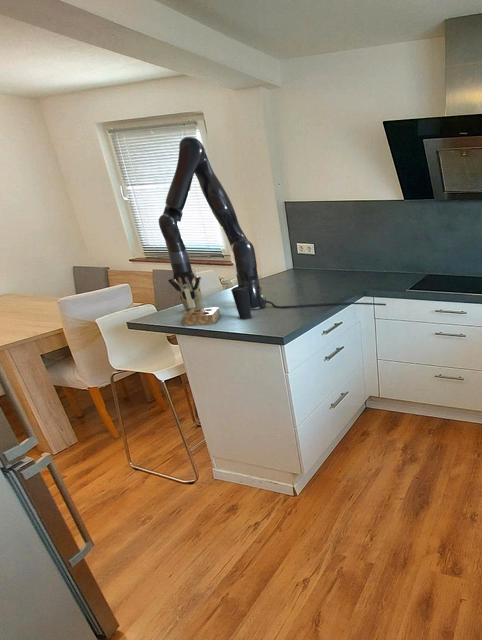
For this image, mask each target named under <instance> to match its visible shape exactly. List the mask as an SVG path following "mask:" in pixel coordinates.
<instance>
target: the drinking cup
mask: <svg viewBox="0 0 482 640" xmlns="http://www.w3.org/2000/svg"><path fill="white" fill-rule="evenodd" d="M235 276H236V281H237V285H235V286H233V287H232V288H230V292H231V294H232V297H233V301H234V304H235V306H236V311H237V314H238V317H239V319H240V320H248V319H251V318H252V312H251V311H252V310H250V298H249V287H246V286H242V285H240V282H239V277H238V274H237V273H236V274H235Z"/></svg>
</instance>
